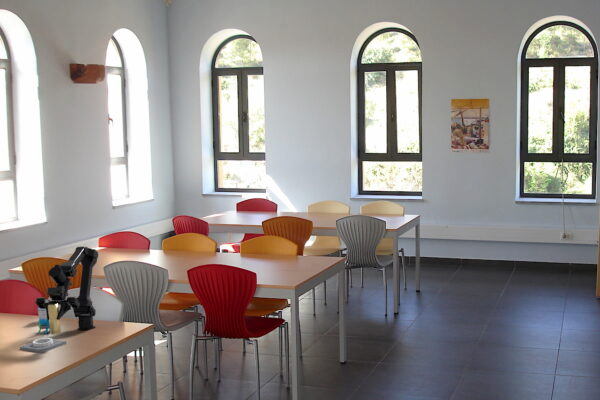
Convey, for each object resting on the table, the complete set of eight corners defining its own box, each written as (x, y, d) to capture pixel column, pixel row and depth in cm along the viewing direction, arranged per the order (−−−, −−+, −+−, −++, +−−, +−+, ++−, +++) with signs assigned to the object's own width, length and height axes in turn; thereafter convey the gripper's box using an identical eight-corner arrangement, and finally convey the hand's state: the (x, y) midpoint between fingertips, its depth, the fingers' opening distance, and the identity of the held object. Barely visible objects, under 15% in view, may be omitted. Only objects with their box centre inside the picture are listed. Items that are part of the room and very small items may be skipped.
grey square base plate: (44, 340, 356) (43, 335, 356) (66, 343, 350) (65, 337, 349) (19, 349, 344) (19, 343, 344) (42, 352, 337) (41, 346, 337)
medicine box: (46, 319, 397) (44, 302, 396) (54, 319, 396) (52, 302, 396) (38, 323, 389) (37, 306, 388) (47, 323, 389) (45, 306, 388)
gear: (64, 327, 373) (50, 316, 366) (59, 337, 370) (46, 327, 363) (47, 328, 378) (33, 318, 371) (42, 339, 374) (28, 329, 368)
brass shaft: (57, 331, 346) (54, 302, 344) (62, 332, 343) (60, 304, 341) (48, 333, 342) (45, 304, 341) (53, 335, 339) (51, 306, 338)
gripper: (35, 279, 345) (25, 310, 336) (74, 279, 342) (66, 309, 333) (45, 293, 354) (35, 323, 344) (83, 292, 351) (75, 322, 341)
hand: (52, 319), depth 340 cm, fingers closed on brass shaft, 4 cm apart
